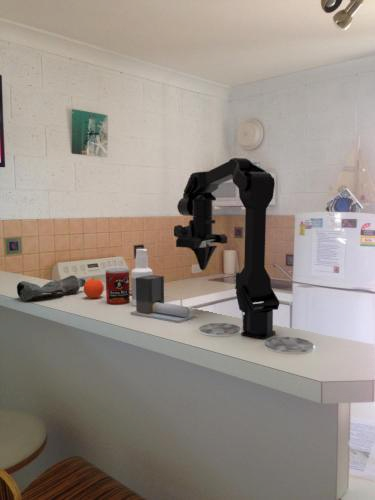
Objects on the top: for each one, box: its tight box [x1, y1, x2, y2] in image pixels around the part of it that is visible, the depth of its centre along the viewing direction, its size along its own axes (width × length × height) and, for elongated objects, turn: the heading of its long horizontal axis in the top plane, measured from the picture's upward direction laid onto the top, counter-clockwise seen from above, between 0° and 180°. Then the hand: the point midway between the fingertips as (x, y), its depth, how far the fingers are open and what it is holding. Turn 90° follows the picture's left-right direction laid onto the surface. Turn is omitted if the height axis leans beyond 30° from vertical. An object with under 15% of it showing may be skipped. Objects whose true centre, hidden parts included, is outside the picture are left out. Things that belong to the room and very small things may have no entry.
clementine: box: [83, 277, 106, 299], centre depth 161 cm, size 8×7×7 cm
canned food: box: [105, 267, 131, 306], centre depth 153 cm, size 8×8×11 cm
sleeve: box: [135, 274, 165, 313], centre depth 137 cm, size 5×7×10 cm
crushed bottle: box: [16, 274, 87, 302], centre depth 165 cm, size 13×7×25 cm
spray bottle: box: [130, 248, 154, 307], centre depth 149 cm, size 7×7×18 cm
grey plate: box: [130, 302, 197, 324], centre depth 134 cm, size 18×8×4 cm, turn 54°
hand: (202, 269), depth 136 cm, fingers closed
